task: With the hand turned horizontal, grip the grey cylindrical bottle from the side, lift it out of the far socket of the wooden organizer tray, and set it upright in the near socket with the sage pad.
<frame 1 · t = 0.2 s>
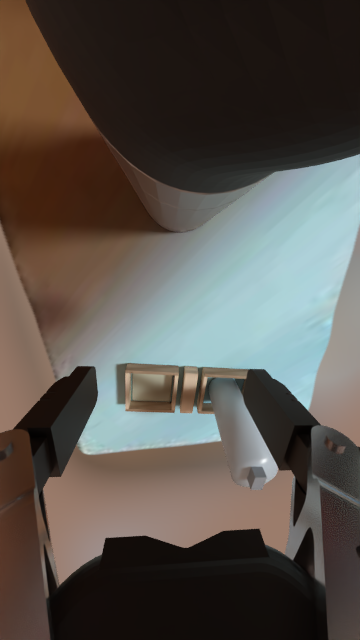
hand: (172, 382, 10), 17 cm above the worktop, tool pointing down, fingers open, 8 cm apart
grey cylindrical bottle: (222, 387, 32), resting in wooden organizer tray
wooden organizer tray: (187, 386, 32), on the worktop
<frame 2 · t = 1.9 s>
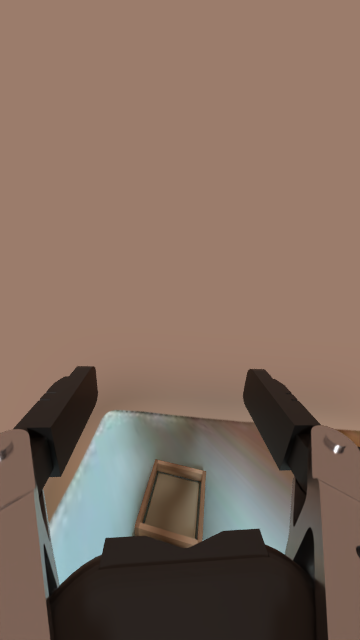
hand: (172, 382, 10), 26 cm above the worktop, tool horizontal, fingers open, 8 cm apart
wooden organizer tray: (161, 572, 20), on the worktop
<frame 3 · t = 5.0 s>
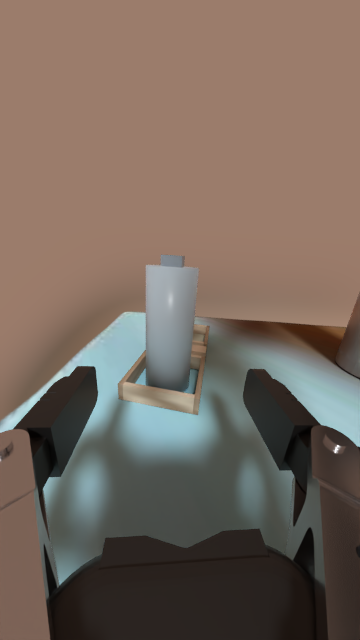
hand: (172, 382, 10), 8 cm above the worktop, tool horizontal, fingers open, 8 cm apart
grey cylindrical bottle: (167, 381, 22), resting in wooden organizer tray
wooden organizer tray: (177, 356, 27), on the worktop
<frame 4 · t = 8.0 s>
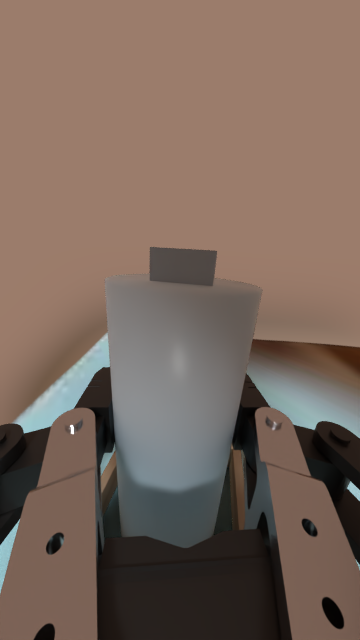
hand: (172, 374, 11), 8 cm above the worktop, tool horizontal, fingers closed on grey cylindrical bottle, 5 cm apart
grey cylindrical bottle: (167, 516, 10), resting in wooden organizer tray, touching gripper
wooden organizer tray: (185, 427, 16), on the worktop
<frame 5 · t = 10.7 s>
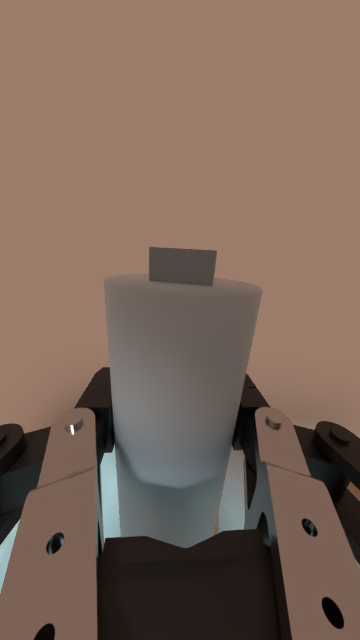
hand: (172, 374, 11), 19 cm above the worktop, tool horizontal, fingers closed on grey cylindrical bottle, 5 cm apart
grey cylindrical bottle: (167, 517, 10), point 11 cm above the worktop, touching gripper
when the fingers open (9 cm above the worktop, at t = 13.8 s): grey cylindrical bottle drops 1 cm, resting on wooden organizer tray.
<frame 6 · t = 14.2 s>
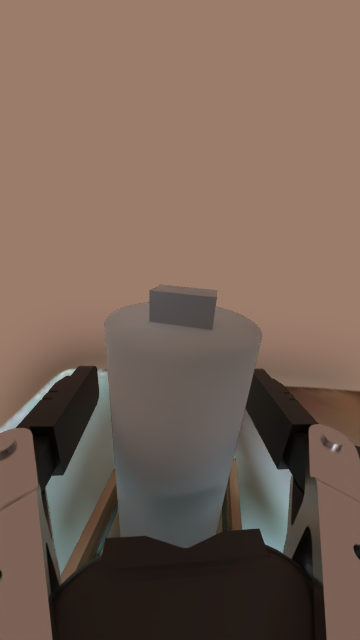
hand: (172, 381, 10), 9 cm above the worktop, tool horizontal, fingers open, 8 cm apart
grey cylindrical bottle: (166, 532, 11), resting on wooden organizer tray
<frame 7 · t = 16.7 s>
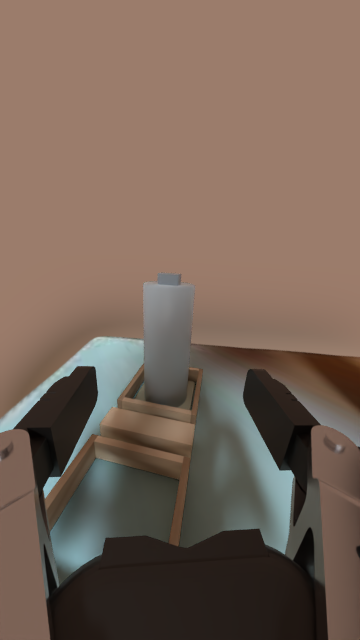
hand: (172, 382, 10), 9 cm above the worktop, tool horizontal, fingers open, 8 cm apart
grey cylindrical bottle: (165, 393, 22), resting on wooden organizer tray
wooden organizer tray: (148, 439, 17), on the worktop
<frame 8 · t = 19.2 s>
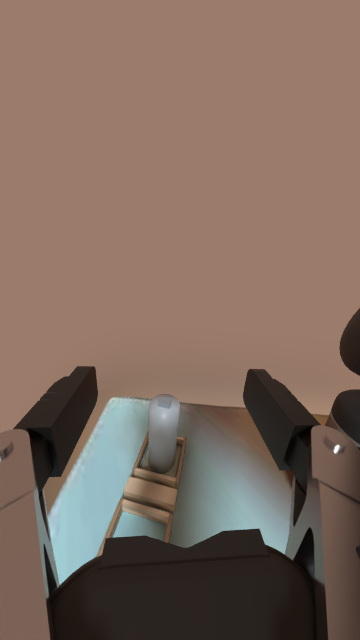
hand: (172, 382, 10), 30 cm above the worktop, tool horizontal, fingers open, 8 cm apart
grey cylindrical bottle: (161, 459, 35), resting on wooden organizer tray
wooden organizer tray: (150, 497, 30), on the worktop
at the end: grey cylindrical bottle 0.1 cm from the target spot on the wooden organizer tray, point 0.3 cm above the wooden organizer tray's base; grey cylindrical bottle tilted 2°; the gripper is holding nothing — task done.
